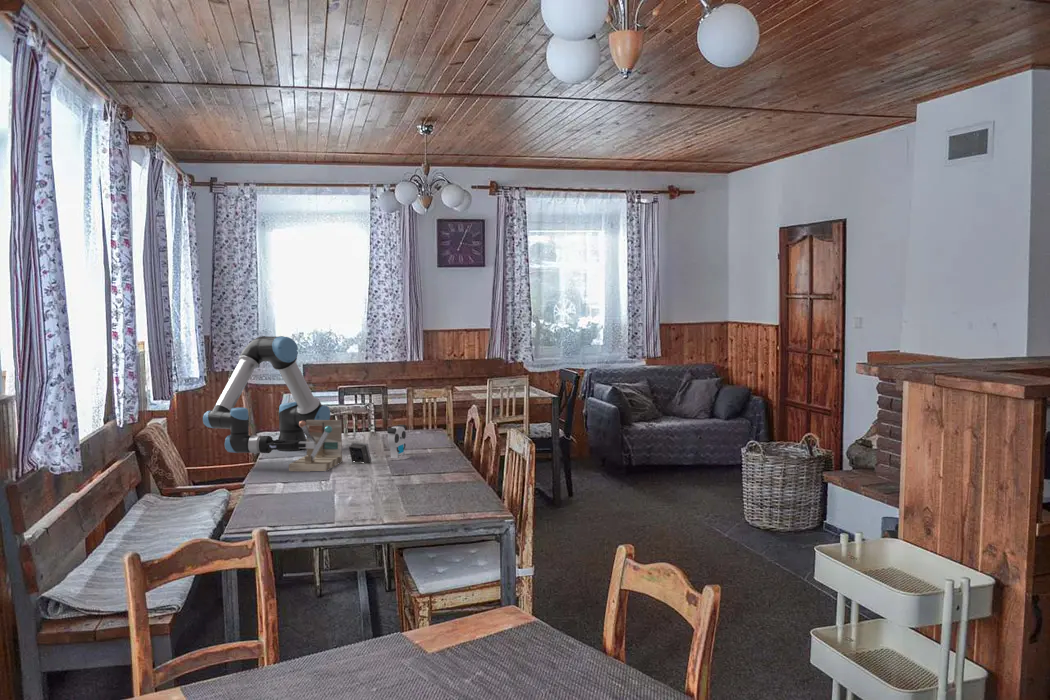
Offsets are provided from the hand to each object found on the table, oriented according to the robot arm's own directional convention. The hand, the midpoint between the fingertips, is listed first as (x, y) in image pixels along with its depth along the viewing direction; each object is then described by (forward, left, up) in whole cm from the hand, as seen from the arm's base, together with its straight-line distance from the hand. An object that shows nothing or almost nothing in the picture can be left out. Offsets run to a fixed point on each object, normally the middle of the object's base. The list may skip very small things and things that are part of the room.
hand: (313, 445), depth 354 cm
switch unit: (-9, -2, -11) cm, 14 cm away
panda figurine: (-29, +29, -11) cm, 43 cm away
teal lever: (-1, -2, -7) cm, 8 cm away
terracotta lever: (-15, -2, -7) cm, 17 cm away
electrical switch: (-18, +15, -11) cm, 26 cm away
